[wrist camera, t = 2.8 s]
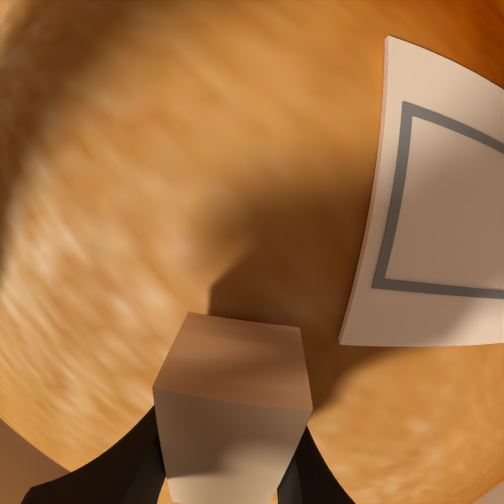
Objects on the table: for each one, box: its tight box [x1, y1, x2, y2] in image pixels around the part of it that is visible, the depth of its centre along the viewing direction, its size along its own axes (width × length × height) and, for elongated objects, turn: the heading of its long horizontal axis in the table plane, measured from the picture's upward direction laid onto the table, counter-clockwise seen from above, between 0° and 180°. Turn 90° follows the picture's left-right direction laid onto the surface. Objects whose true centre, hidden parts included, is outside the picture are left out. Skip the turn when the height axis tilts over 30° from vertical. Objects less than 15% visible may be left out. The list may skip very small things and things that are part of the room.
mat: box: [338, 35, 504, 347], centre depth 9 cm, size 12×12×1 cm
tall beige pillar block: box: [152, 312, 313, 504], centre depth 10 cm, size 4×8×4 cm, turn 173°
